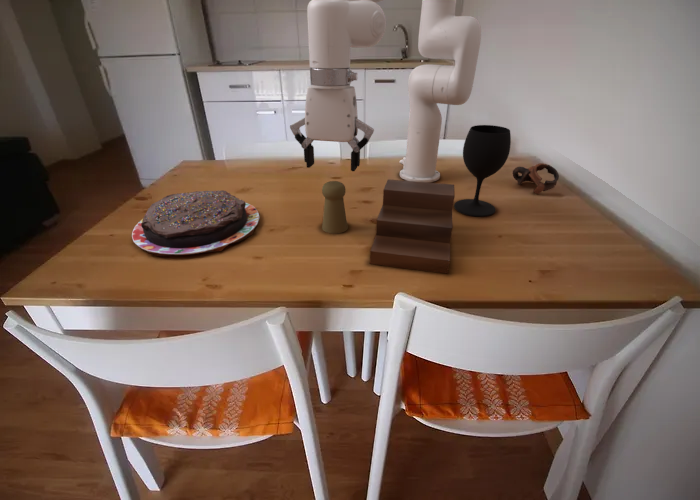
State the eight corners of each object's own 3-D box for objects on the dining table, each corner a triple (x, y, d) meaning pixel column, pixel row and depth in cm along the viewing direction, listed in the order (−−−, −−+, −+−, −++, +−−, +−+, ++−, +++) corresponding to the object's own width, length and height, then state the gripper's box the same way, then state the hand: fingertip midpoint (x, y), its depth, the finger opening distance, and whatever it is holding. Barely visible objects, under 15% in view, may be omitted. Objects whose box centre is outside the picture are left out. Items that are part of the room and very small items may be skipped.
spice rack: (447, 273, 67) (455, 226, 62) (369, 263, 70) (371, 218, 65) (448, 224, 85) (454, 184, 79) (385, 217, 88) (387, 179, 82)
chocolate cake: (256, 252, 74) (252, 224, 70) (112, 265, 70) (99, 236, 67) (262, 199, 97) (259, 176, 94) (154, 206, 94) (147, 183, 90)
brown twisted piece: (544, 184, 108) (562, 165, 101) (543, 207, 103) (562, 189, 96) (506, 171, 108) (521, 152, 101) (504, 194, 104) (519, 176, 97)
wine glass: (502, 207, 92) (521, 128, 82) (484, 221, 86) (502, 137, 75) (465, 197, 98) (479, 122, 88) (446, 208, 92) (458, 129, 81)
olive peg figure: (348, 222, 86) (348, 178, 80) (346, 234, 80) (345, 188, 75) (324, 221, 86) (322, 177, 80) (320, 233, 81) (317, 187, 75)
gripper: (378, 78, 68) (375, 165, 77) (294, 75, 72) (299, 159, 80) (371, 82, 62) (368, 176, 71) (279, 79, 65) (287, 169, 74)
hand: (332, 167), depth 75 cm, fingers open, 9 cm apart
